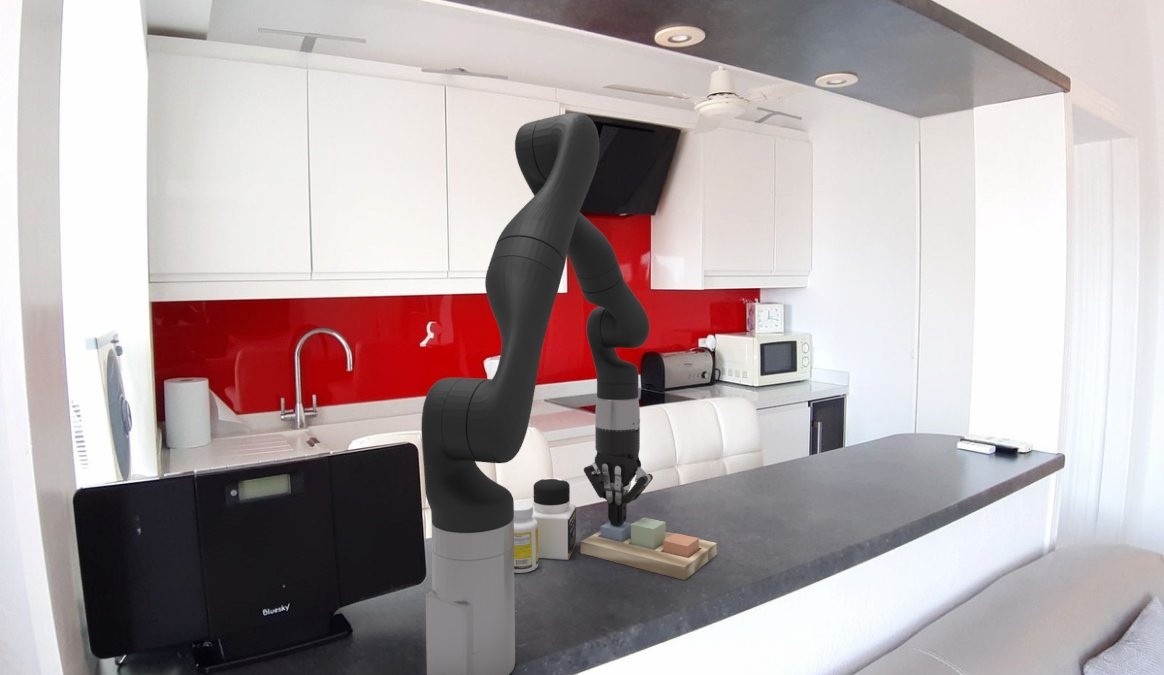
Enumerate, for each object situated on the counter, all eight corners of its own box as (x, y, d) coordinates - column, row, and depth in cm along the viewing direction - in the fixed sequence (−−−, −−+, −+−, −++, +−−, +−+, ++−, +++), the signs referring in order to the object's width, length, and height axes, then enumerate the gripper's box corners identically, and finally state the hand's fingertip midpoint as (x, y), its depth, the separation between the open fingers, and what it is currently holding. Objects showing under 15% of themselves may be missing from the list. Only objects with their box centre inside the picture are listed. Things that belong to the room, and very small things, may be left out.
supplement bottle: (521, 557, 108) (520, 498, 107) (545, 566, 105) (545, 505, 104) (496, 568, 104) (496, 506, 103) (521, 577, 100) (520, 513, 100)
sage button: (653, 550, 106) (653, 529, 106) (630, 545, 109) (630, 524, 109) (665, 542, 110) (665, 522, 110) (643, 537, 112) (643, 517, 112)
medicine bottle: (568, 560, 107) (568, 487, 106) (526, 558, 108) (525, 485, 107) (576, 544, 114) (576, 476, 113) (536, 542, 115) (535, 474, 114)
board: (684, 580, 99) (684, 567, 99) (580, 553, 110) (580, 541, 110) (716, 554, 109) (716, 543, 109) (618, 532, 120) (618, 521, 120)
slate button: (621, 551, 110) (621, 531, 110) (600, 546, 112) (600, 526, 112) (634, 544, 113) (634, 524, 113) (613, 539, 116) (613, 519, 115)
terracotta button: (687, 568, 103) (687, 546, 103) (663, 562, 105) (663, 540, 105) (698, 559, 106) (698, 538, 106) (675, 553, 109) (675, 533, 109)
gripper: (572, 423, 112) (573, 523, 113) (640, 431, 105) (640, 538, 106) (597, 416, 118) (597, 511, 119) (662, 424, 111) (662, 525, 112)
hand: (617, 524), depth 113 cm, fingers closed
